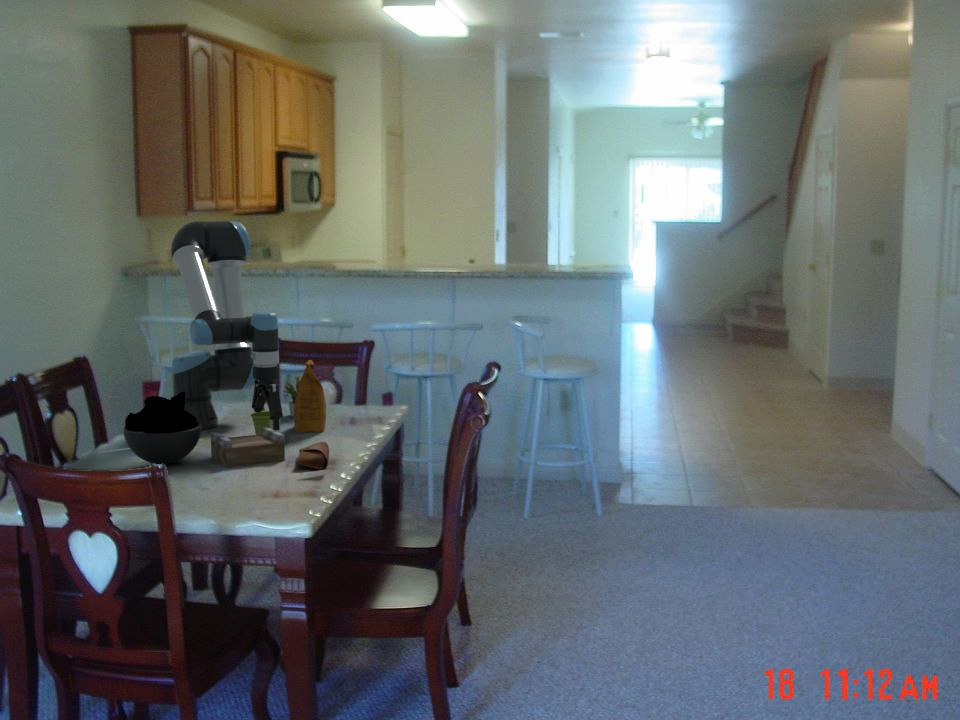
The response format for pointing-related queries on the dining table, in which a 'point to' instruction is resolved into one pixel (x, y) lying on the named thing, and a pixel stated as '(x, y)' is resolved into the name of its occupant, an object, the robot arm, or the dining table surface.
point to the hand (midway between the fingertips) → (267, 437)
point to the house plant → (292, 393)
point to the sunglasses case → (314, 456)
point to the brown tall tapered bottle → (310, 403)
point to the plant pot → (261, 420)
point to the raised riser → (248, 448)
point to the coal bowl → (162, 430)
